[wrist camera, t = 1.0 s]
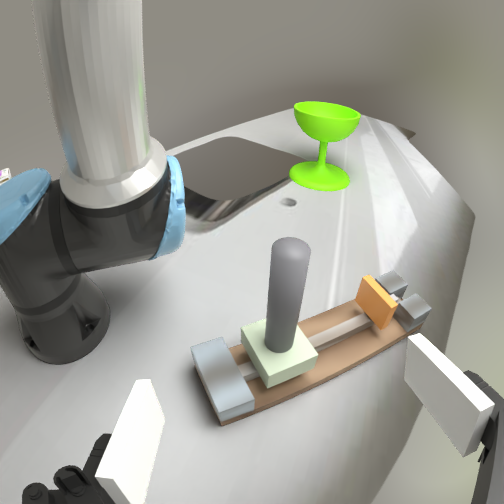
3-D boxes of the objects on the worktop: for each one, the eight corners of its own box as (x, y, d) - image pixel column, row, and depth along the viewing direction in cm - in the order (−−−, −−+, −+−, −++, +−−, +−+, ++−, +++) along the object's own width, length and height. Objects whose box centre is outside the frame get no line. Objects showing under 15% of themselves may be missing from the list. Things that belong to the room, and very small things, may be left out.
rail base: (195, 366, 39) (190, 346, 36) (385, 290, 50) (393, 270, 47) (221, 426, 33) (219, 412, 30) (420, 327, 44) (431, 308, 41)
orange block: (354, 300, 43) (362, 277, 41) (380, 288, 45) (389, 266, 42) (380, 330, 39) (391, 308, 36) (406, 316, 41) (417, 293, 38)
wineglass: (356, 193, 75) (369, 123, 63) (291, 189, 75) (297, 115, 63) (342, 165, 87) (351, 105, 75) (286, 161, 87) (290, 99, 76)
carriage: (241, 342, 38) (240, 234, 28) (285, 325, 40) (300, 219, 30) (267, 388, 33) (279, 288, 23) (313, 368, 35) (345, 265, 25)
